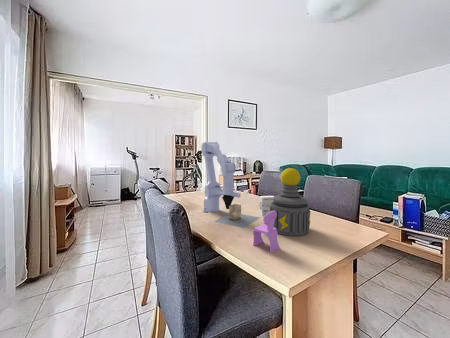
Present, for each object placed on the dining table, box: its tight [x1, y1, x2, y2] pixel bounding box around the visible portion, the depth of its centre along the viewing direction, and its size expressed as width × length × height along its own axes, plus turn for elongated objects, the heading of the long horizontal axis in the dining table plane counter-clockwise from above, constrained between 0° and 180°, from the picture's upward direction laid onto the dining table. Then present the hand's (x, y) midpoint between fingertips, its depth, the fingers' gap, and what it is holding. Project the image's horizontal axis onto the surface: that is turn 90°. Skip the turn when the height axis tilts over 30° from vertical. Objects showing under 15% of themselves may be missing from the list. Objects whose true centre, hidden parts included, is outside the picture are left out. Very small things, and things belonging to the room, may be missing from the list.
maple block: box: [228, 203, 242, 221], centre depth 117 cm, size 4×6×8 cm, turn 147°
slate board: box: [213, 213, 261, 229], centre depth 116 cm, size 18×20×1 cm
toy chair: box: [252, 211, 280, 253], centre depth 85 cm, size 8×9×15 cm
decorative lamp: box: [270, 167, 311, 237], centre depth 103 cm, size 19×19×30 cm
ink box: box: [259, 195, 275, 217], centre depth 125 cm, size 9×5×12 cm, turn 100°
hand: (228, 208), depth 119 cm, fingers closed
